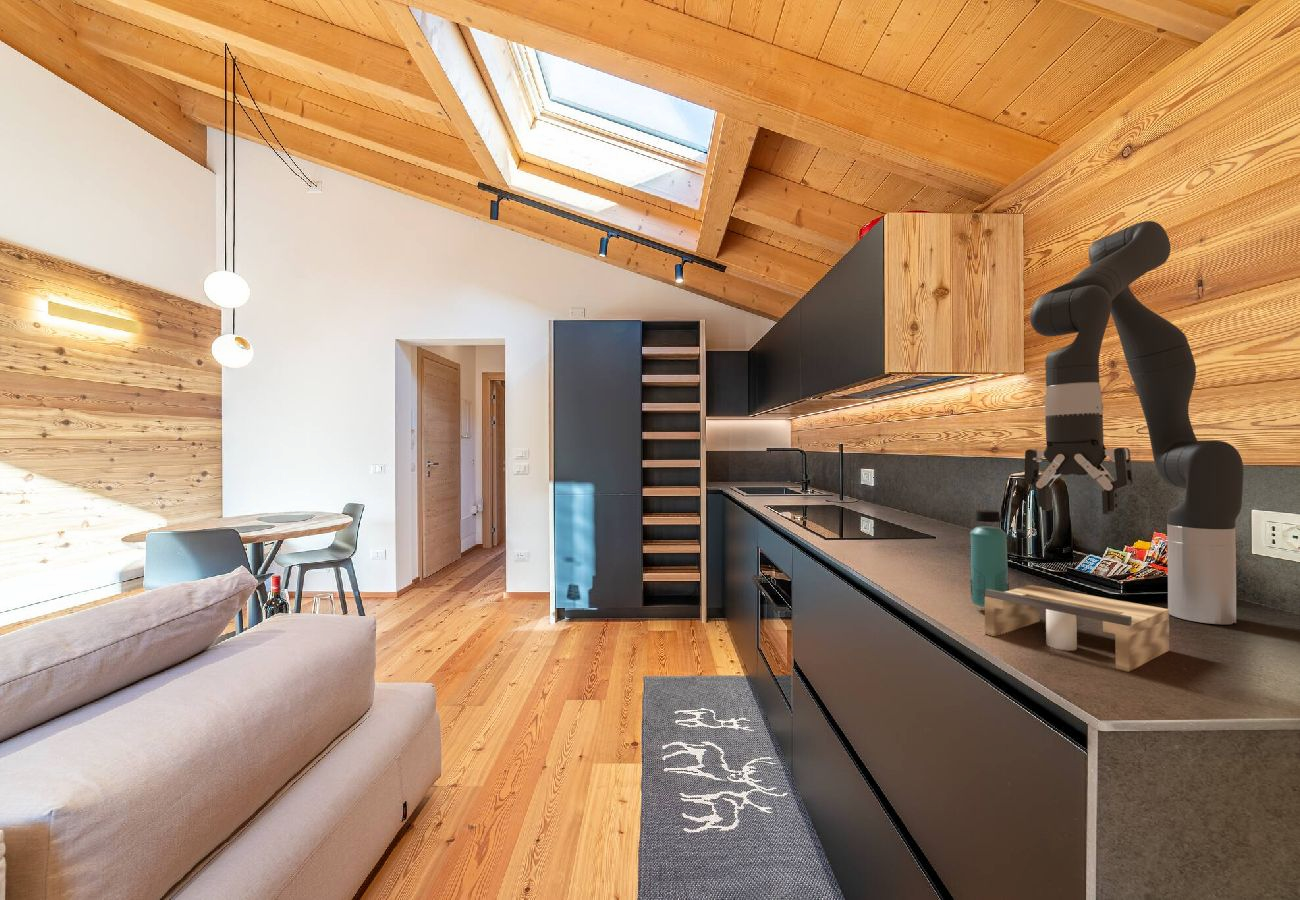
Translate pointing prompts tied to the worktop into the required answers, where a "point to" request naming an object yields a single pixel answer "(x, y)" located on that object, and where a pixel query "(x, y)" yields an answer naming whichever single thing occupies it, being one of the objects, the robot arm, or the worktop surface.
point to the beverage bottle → (988, 558)
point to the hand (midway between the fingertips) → (1076, 512)
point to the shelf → (1132, 623)
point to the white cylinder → (1061, 630)
